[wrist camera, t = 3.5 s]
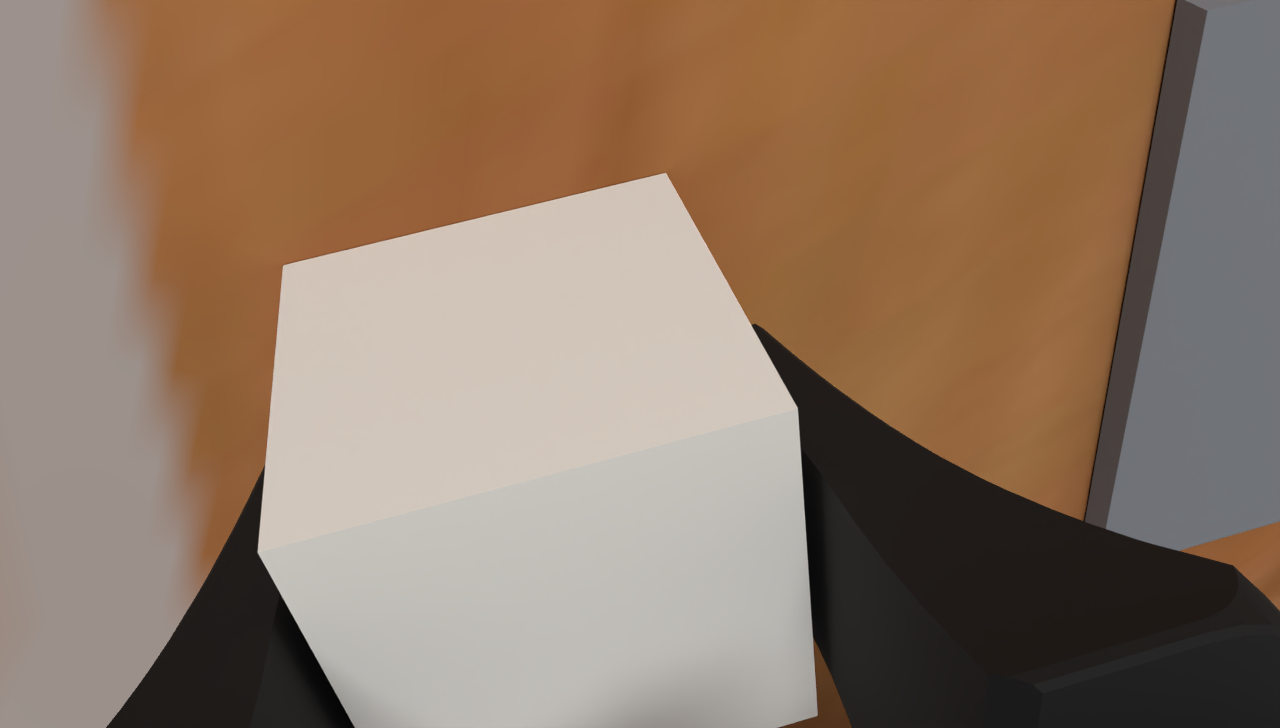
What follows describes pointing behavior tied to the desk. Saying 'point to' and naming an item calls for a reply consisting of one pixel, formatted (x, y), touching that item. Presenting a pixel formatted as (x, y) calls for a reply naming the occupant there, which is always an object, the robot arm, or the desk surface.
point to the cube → (539, 477)
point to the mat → (1202, 296)
